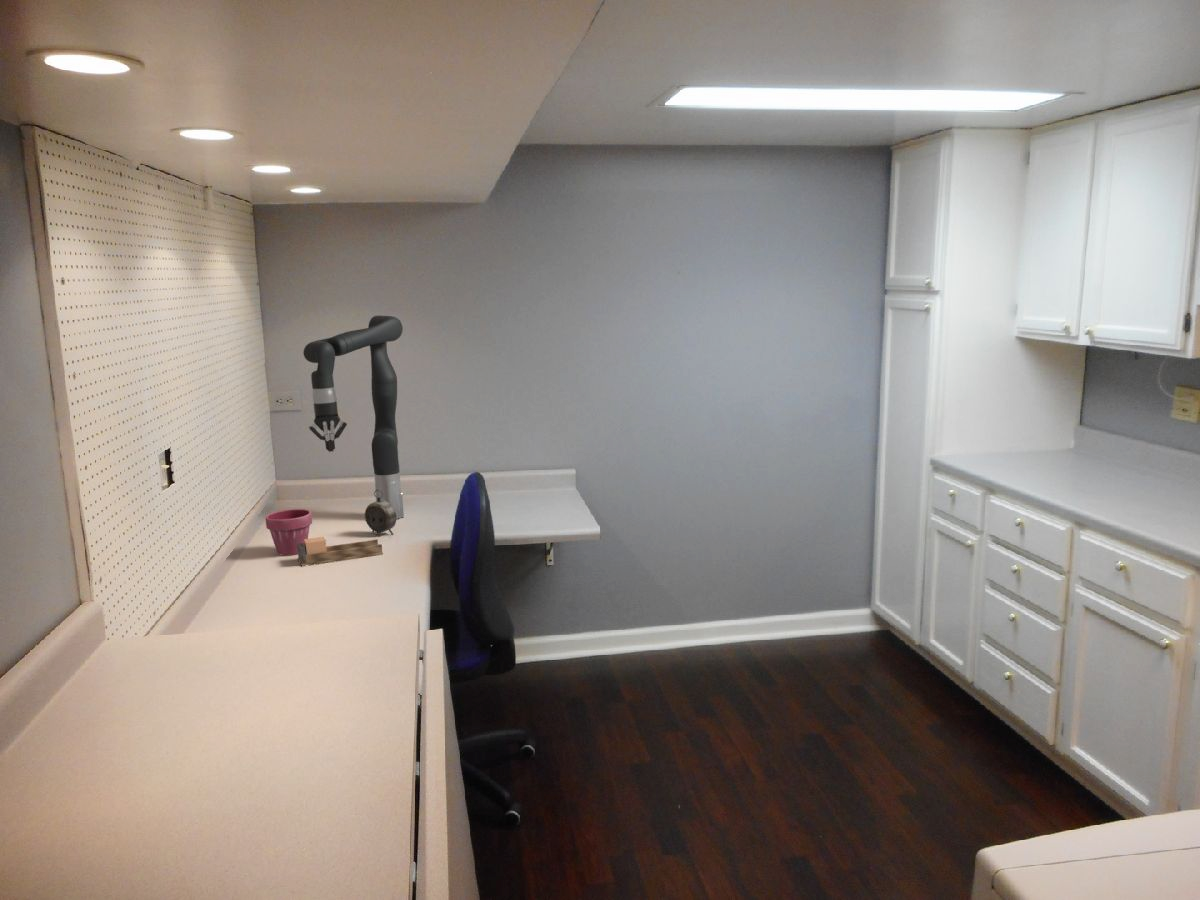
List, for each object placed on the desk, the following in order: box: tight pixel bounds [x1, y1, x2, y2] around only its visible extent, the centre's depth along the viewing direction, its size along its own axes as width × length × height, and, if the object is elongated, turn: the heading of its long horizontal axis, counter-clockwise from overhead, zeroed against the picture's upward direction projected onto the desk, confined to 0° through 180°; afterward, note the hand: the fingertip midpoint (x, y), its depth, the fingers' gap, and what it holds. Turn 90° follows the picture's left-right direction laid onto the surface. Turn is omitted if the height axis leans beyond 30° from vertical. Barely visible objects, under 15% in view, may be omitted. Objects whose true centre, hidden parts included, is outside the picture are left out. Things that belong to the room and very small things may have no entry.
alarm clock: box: [364, 489, 397, 537], centre depth 299 cm, size 11×5×16 cm, turn 65°
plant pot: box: [265, 508, 313, 556], centre depth 281 cm, size 14×14×13 cm
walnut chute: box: [297, 539, 384, 567], centre depth 275 cm, size 25×9×6 cm, turn 116°
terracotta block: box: [304, 536, 327, 555], centre depth 272 cm, size 6×5×6 cm
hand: (330, 451), depth 294 cm, fingers closed
